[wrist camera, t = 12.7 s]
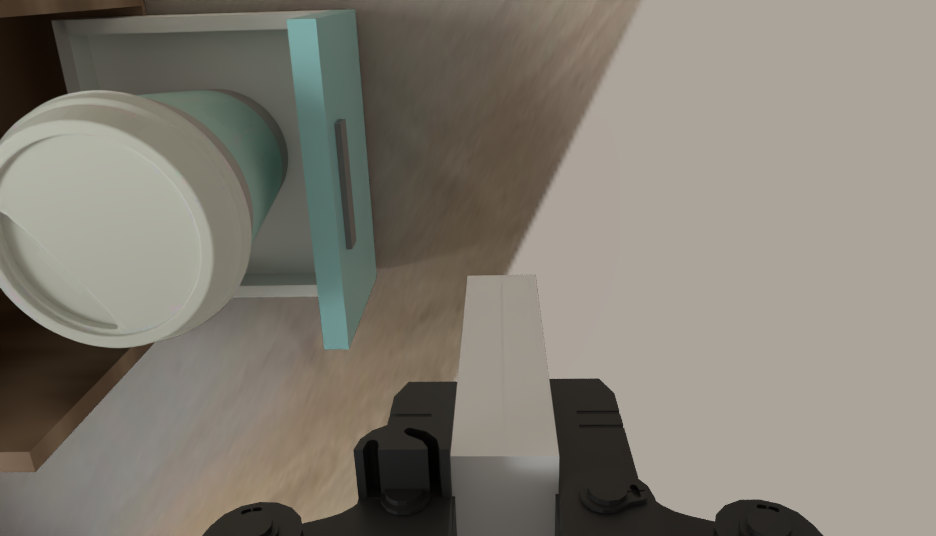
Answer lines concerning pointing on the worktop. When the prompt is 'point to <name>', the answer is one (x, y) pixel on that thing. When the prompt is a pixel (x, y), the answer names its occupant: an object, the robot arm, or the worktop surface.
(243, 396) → the worktop surface
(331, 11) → the teal drawer
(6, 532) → the worktop surface
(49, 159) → the coffee cup
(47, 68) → the cubby
